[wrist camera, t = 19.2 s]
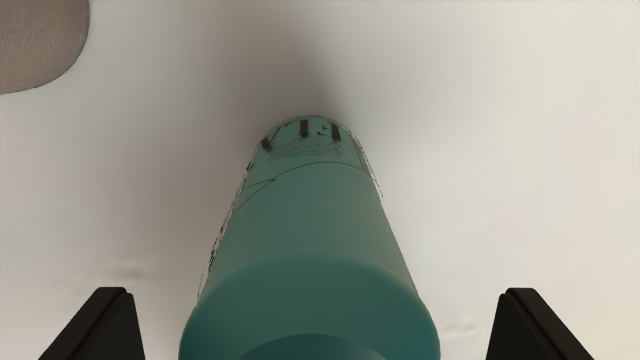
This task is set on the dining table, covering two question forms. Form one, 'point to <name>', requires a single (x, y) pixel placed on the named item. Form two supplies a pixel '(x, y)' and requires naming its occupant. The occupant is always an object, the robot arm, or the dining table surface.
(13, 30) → the pillar candle
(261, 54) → the dining table surface
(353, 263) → the beverage bottle
